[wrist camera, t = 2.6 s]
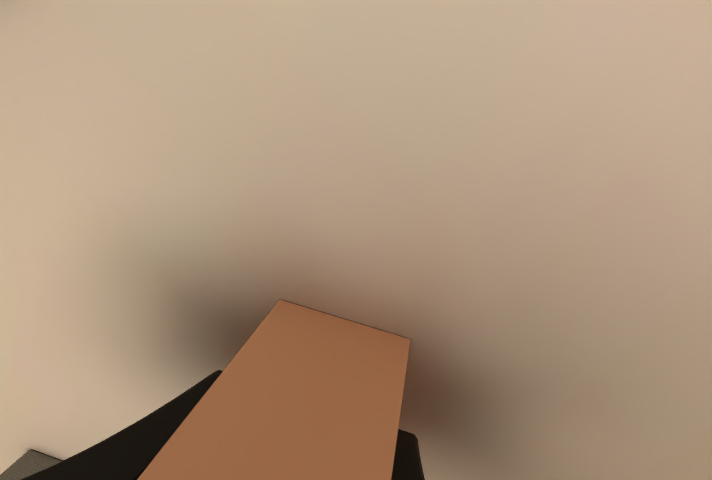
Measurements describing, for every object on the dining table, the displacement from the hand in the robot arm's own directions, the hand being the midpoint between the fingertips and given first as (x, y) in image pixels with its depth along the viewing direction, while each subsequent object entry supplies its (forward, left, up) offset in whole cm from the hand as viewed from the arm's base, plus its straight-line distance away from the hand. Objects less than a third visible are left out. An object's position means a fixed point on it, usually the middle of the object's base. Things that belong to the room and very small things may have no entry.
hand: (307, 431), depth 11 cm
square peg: (0, 0, -2) cm, 2 cm away
